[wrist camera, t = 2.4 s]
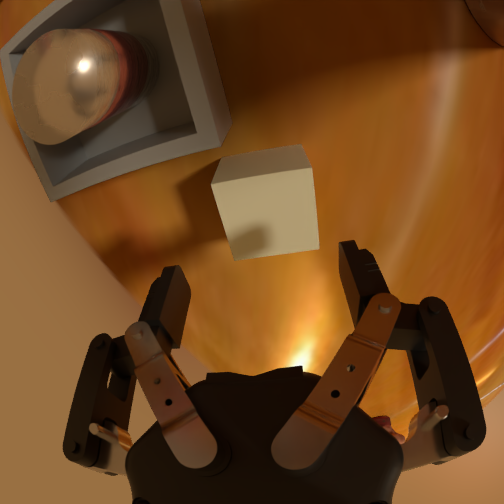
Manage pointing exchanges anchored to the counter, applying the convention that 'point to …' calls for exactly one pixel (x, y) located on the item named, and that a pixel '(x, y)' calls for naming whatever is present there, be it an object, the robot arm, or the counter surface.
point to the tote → (146, 112)
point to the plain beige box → (267, 202)
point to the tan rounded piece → (80, 80)
